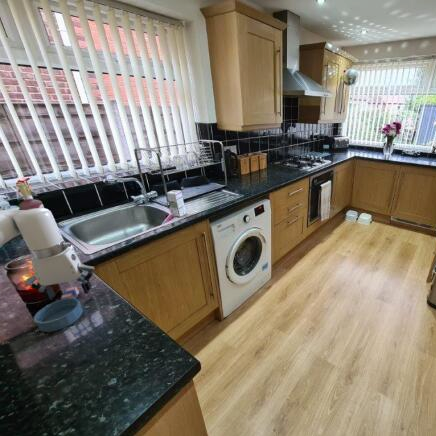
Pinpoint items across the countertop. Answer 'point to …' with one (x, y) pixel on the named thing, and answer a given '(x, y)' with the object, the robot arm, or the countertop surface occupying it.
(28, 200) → the liquor
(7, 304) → the countertop surface
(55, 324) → the bowl
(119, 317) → the countertop surface
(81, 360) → the countertop surface
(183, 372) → the countertop surface
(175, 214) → the syrup box
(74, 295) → the eraser
